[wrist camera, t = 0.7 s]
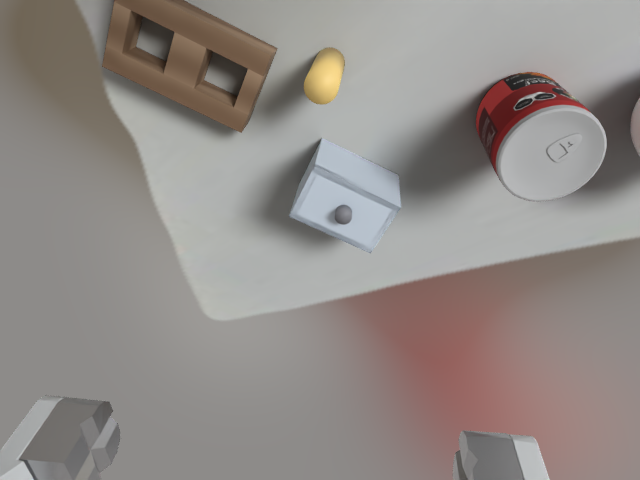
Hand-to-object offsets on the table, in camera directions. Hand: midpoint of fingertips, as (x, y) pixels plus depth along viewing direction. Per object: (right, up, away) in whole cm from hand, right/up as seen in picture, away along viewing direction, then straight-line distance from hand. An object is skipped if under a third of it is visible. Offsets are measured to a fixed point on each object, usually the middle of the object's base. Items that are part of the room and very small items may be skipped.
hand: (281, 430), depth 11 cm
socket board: (-11, +22, +34) cm, 42 cm away
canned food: (+20, +17, +34) cm, 43 cm away
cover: (+4, +11, +40) cm, 42 cm away
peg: (+2, +21, +34) cm, 40 cm away
